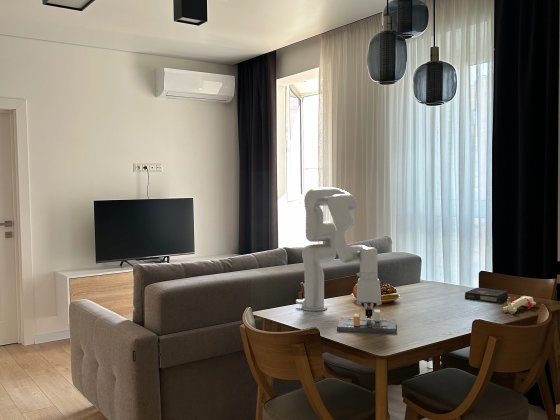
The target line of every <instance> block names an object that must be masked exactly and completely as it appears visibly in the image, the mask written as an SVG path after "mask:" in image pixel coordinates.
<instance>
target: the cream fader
mask: <svg viewBox="0 0 560 420" xmlns="http://www.w3.org/2000/svg"><path fill="white" fill-rule="evenodd" d="M373 319H374V321H380V319H381V309H374V311H373Z"/></svg>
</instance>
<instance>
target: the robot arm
mask: <svg viewBox="0 0 560 420" xmlns="http://www.w3.org/2000/svg"><path fill="white" fill-rule="evenodd" d="M303 203H304V208H305V238H306V240H307V241H308V242H311V243H313V242H314V244H309V245H306V246H305V247H304V248H303V249H302V251H301V258H302V263H303V269H304V271H303V272H304V274H303V275H304V298H302V299H296V300H295V304H298V305H301V310H304V311H306V312H307V311H309V312H321V311H326V310H327V309H328V305H327V304H325V274H324V269H323V268H322V265H321V264H324V263H325V264H326V263H332V262H333V261H335V259H336V256H338V258H339V260H340V261H341V262H342V263H344V264H353V263H359V272H357V273H356V277H359V278H358V279H357V286H356V304H357V305H360V306H361V307H363V308H364V309H365V312H364V313H365V314H364V315H365V317H366V318H369V319H372V317H373V309H374V308H375V307H377V306H380V305H382V300H381V299H382V298H381V297H382V294H381V293H382V291H381V281H380V279H379V278H378V268H379V267H378V266H379V265H378V249H377V248H376V247H373V246H367V245H363V244H357V245H348V244H347V241H346V238H345V233H346V232H347V231H349V230H350V229H353V227H354V225H355V220H354V218H353V215H352V212H354V211H356V209H357V206H358V204H357V203H358V201H357V199H356V197H355V196H354V195H352V194H351V193H349V192H347V191H345V190H343V189H341V188H337V187H316V188H312V189H309V190H308V191H307V192H306V193H305V195H304V202H303ZM321 206H322V207H323V206H327V207H328V210H329V212H330V215H331V217H332V218H331V219H332V220H333V222H331V221H324V212H323V210H322V208H321ZM317 242H322V243H317ZM368 303H369V304H370V306H368Z"/></svg>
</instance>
